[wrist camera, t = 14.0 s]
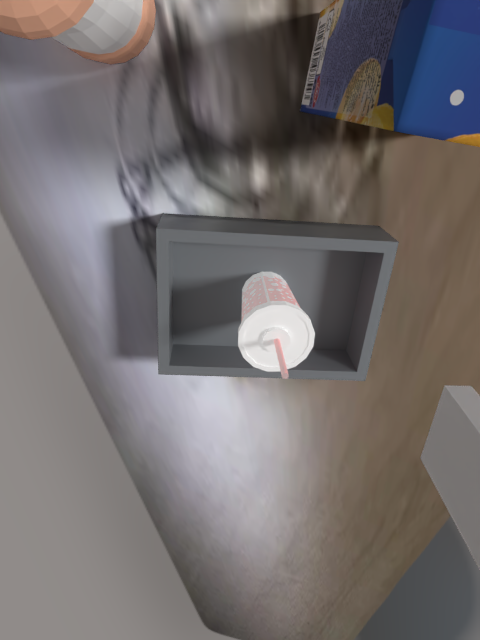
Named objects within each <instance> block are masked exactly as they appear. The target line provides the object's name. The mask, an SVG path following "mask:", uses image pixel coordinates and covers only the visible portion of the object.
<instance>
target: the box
mask: <svg viewBox="0 0 480 640" xmlns="http://www.w3.org/2000/svg"><path fill="white" fill-rule="evenodd" d="M398 243H399V242H398V241H397V240H396V239H394V238H393V237H392V236H391V235H389V234H388V233H387V232H386V231H385V230H383V229H382V228H381V227H380V226H371V225H354V224H336V223H319V222H302V221H285V220H268V219H250V218H233V217H216V216H199V215H181V214H164V213H163V214H162V216H161V219H160V221H159V223H158V225H157V227H156V261H157V317H158V373H159V374H165V375H197V376H229V377H261V378H282V375H281V371H277V372H267V371H264V370H261V369H258V368H255V367H253V366H252V365H251V364H250V363H249V362H247V361H246V360H245V359H244V358H243V356H242V354H241V351H240V349H239V347H238V328H239V326H240V324H241V319H242V289H243V287H244V284H245V282H246V281H247V280H248V279H249V278H250V277H251V276H252V275H254V274H257V273H260V272H273V273H276V274H278V275H280V276H281V277H282V278H283V279H284V280H285V281H286V283H287V284H288V286H289V288H290V290H291V292H292V293H293V295H294V297H295V299H296V301H297V303H298V304H299V306H300V308H301V309H302V310H303V311H304V312H305V313H306V314H307V315H308V316H309V318H310V320H311V323H312V326H313V329H314V332H315V337H314V346H313V348H312V349H311V351H310V353H309V354H308V356H307V358H306V359H304V360H303V361H302V362H301V363H299V364H298V365H297V366H295V367H293V368H290V369H287V371H288V375H289V377H288V378H293V379H325V380H356V381H365V379H366V375H367V371H368V367H369V363H370V359H371V355H372V350H373V346H374V342H375V338H376V334H377V330H378V326H379V321H380V317H381V313H382V309H383V305H384V301H385V297H386V292H387V288H388V284H389V280H390V276H391V272H392V268H393V263H394V259H395V255H396V251H397V247H398Z"/></svg>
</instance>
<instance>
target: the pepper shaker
mask: <svg viewBox="0 0 480 640" xmlns="http://www.w3.org/2000/svg"><path fill="white" fill-rule="evenodd" d="M155 13H156V9H155V3H154V0H0V31H1V32H3V33H4V34H8V35H12V36H17V37H21V38H26V39H30V40H33V39H40V38H48V37H52V38H53V39H55V40H57V41H58V42H60V43H62V44H63V45H65V46H67V47H68V48H69V49H70V50H72V51H74V52H75V53H77V54H79V55H80V56H82V57H84V58H87V59H90V60H94V61H98V62H103V63H107V64H117V63H124V62H127V61H128V60H130V59H132V58H134V57H136V56H137V55H139V53H140V52H141V51H142V50H143V49H144V47H145V46H146V45H147V44H148V42H149V39H150V37H151V34H152V32H153V29H154V23H155Z"/></svg>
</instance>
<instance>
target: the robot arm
mask: <svg viewBox="0 0 480 640" xmlns="http://www.w3.org/2000/svg"><path fill="white" fill-rule="evenodd" d="M421 460H422V462H423V464H424V466H425V468H426V470H427V471H428V473H429V475H430V477H431V479H432V481H433V483H434V485H435V487H436V488H437V490H438V492H439V494H440V496H441V498H442V500H443V502H444V504H445V505H446V507H447V509H448V511H449V513H450V515H451V517H452V519H453V521H454V522H455V524H456V526H457V528H458V530H459V532H460V534H461V536H462V537H463V539H464V541H465V543H466V545H467V547H468V549H469V550H470V553H471V554H472V556H473V558H474V560H475V562H476V564H477V566H478V568H479V570H480V396H479V395H478V393H477V392H476V391H475V390H474V389H473V387H472V386H444V389H443V392H442V395H441V398H440V401H439V404H438V407H437V410H436V413H435V416H434V419H433V422H432V425H431V428H430V431H429V434H428V437H427V440H426V443H425V446H424V449H423V452H422V455H421Z"/></svg>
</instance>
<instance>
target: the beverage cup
mask: <svg viewBox="0 0 480 640" xmlns="http://www.w3.org/2000/svg"><path fill="white" fill-rule="evenodd" d="M314 337H315V332H314V329H313V326H312V323H311V320H310V318H309V316H308V315H307V314H306V313H305V312H304V311H303V310H302V309H301V308H300V306H299V304H298V303H297V301H296V299H295V297H294V295H293V293H292V292H291V290H290V288H289V286H288V284H287V283H286V281H285V280H284V279H283V278H282V277H281V276H280V275H278V274H276V273H273V272H260V273H257V274H254V275H252V276H251V277H250V278H249V279H248V280H247V281H246V282H245V284H244V287H243V289H242V319H241V324H240V326H239V328H238V347H239V349H240V351H241V354H242V356H243V358H244V359H245V360H246V361H247V362H249V363H250V364H251V365H252V366H253V367H255V368H258V369H261V370H264V371H267V372H277V371H281V375H282V378H283V379H287V378H288V377H289V375H288V371H287V369H290V368H293V367H295V366H297V365H298V364H299V363H301V362H302V361H303V360H304V359H306V358H307V356H308V354H309V353H310V351H311V349H312V348H313V346H314Z"/></svg>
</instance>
